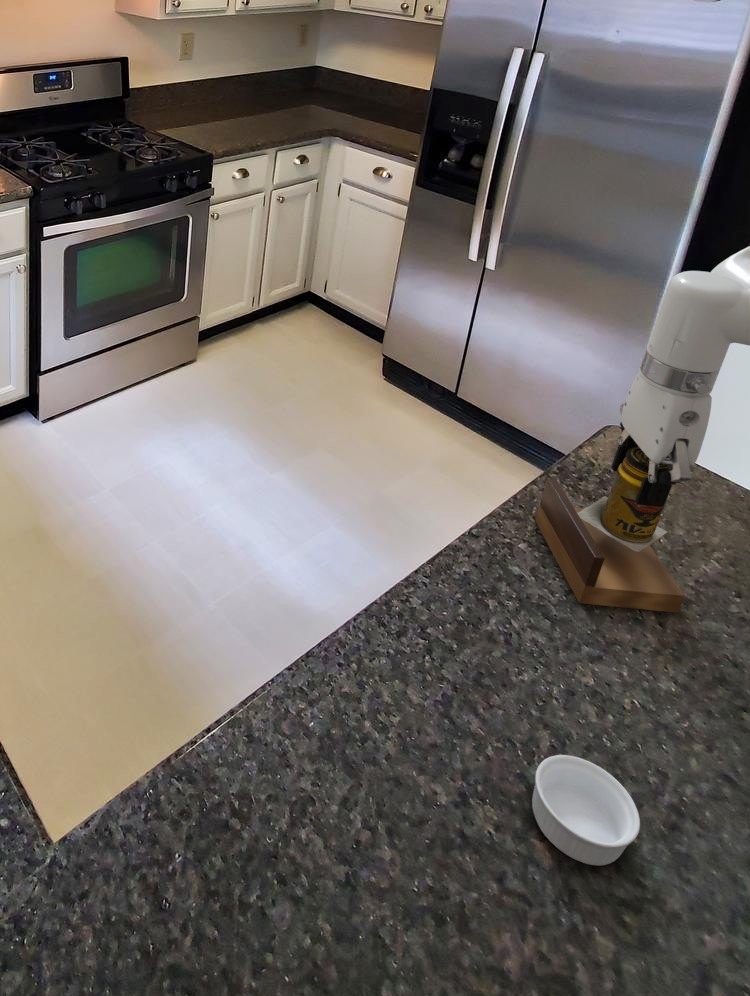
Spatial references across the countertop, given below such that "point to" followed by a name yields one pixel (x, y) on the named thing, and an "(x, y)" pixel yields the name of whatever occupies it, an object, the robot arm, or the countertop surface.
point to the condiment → (627, 505)
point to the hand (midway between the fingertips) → (636, 486)
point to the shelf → (603, 560)
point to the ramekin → (583, 810)
